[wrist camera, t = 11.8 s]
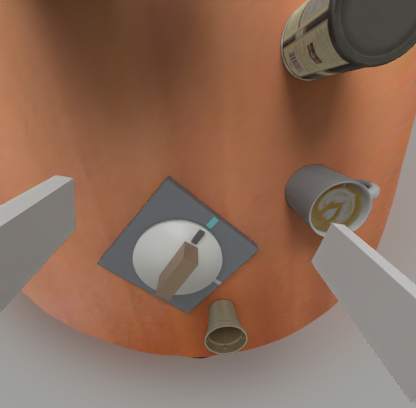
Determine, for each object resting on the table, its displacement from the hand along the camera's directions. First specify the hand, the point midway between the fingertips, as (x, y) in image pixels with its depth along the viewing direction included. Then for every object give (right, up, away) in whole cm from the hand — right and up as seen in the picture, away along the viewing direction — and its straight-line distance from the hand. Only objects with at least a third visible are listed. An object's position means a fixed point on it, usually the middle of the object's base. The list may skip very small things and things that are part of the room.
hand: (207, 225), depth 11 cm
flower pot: (+3, -25, +44) cm, 51 cm away
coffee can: (+16, +26, +22) cm, 38 cm away
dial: (-6, -10, +34) cm, 36 cm away
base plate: (-6, -9, +36) cm, 38 cm away
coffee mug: (+22, +4, +32) cm, 39 cm away
